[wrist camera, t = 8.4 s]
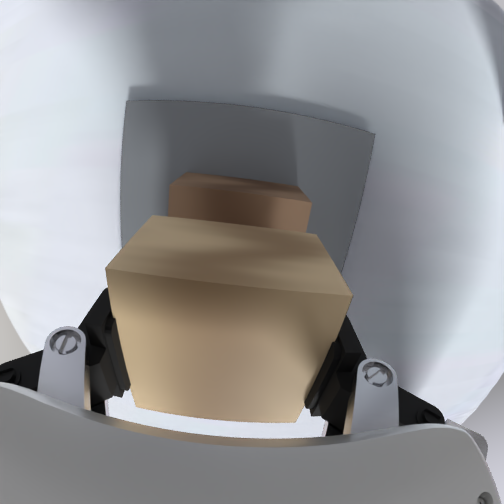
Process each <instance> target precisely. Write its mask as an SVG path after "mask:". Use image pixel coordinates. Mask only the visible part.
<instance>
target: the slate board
mask: <svg viewBox="0 0 504 504" xmlns="http://www.w3.org/2000/svg"><path fill="white" fill-rule="evenodd" d="M374 138H375V134H374V133H370V132H367V131H364V130H360V129H357V128H353V127H350V126H346V125H342V124H338V123H334V122H330V121H326V120H322V119H317V118H313V117H308V116H303V115H298V114H293V113H288V112H282V111H276V110H270V109H264V108H257V107H249V106H241V105H232V104H222V103H211V102H196V101H171V100H139V101H127V102H126V110H125V119H124V130H123V143H122V159H121V238H122V248H123V247H124V246H125V245H126V243H127V242H128V241H129V240H130V239H131V238H132V237H133V236H134V234H135V233H136V232H137V231H138V230H139V229H140V228H141V227H142V226H143V225H144V224H145V223H146V222H147V220H148V219H149V218H150V217H151V216H152V215H157V216H167V217H168V205H169V187H170V184H171V183H173V182H174V181H175V180H176V179H178V178H179V177H180V176H182V175H183V174H184V173H186V172H189V173H200V174H210V175H219V176H228V177H236V178H244V179H252V180H259V181H266V182H273V183H280V184H286V185H293V186H298V187H299V188H300V189H301V190H302V192H303V193H304V194H305V195H306V196H307V197H308V198H309V200H310V201H311V202H312V206H311V211H310V216H309V220H308V225H307V229H306V233H310V234H316V235H317V236H318V238H319V239H320V241H321V242H322V244H323V246H324V247H325V249H326V251H327V252H328V254H329V255H330V257H331V259H332V260H333V262H334V264H335V265H336V267H337V269H338V270H339V272H340V274H341V272H342V268H343V265H344V262H345V259H346V255H347V252H348V248H349V245H350V241H351V238H352V234H353V231H354V227H355V223H356V219H357V216H358V212H359V208H360V204H361V199H362V195H363V191H364V187H365V182H366V178H367V173H368V169H369V164H370V159H371V154H372V149H373V143H374Z"/></svg>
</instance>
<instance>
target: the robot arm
mask: <svg viewBox="0 0 504 504" xmlns="http://www.w3.org/2000/svg"><path fill="white" fill-rule="evenodd" d="M130 386H131V383H130V379H129V375H128V372H127V368H126V364H125V360H124V356H123V351H122V347H121V342H120V338H119V333H118V328H117V323H116V318H113V315H112V309H111V304H110V298H109V291H108V288H105V289H104V291H103V292H102V293H101V295H100V296H99V298H98V299H97V300H96V302H95V303H94V305H93V306H92V308H91V309H90V311H89V312H88V314H87V315H86V317H85V318H84V320H83V321H82V323H81V324H80V326H79V327H78V328H76V327H71V326H66V327H60V328H58V329H56V330H54V331H53V332H51V333H50V334H49V336H48V337H47V339H46V342H45V346H44V350H41V351H38V352H35V353H32V354H29V355H26V356H24V357H21V358H18V359H15V360H12V361H9V362H6V363H3V364H1V365H0V504H501V501H500V497H499V495H498V491H497V488H496V485H495V482H494V479H493V477H492V474H491V472H490V470H489V467H488V465H487V463H486V456H487V450H488V445H487V442H486V440H485V439H484V437H483V436H481V435H480V434H478V433H476V432H474V431H472V430H469V429H467V428H465V427H463V426H461V425H459V424H457V423H455V422H453V421H451V420H449V419H447V420H446V421H445V420H444V417H443V415H442V413H441V412H440V410H439V409H438V408H436V407H435V406H433V405H431V404H429V403H428V402H426V401H424V400H422V399H420V398H418V397H416V396H415V395H413V394H411V393H409V392H407V391H406V390H404V389H402V388H400V387H398V380H397V374H396V372H395V370H394V369H393V368H392V367H391V366H390V365H389V364H388V363H386V362H384V361H382V360H379V359H373V358H371V359H367V358H366V355H365V353H364V351H363V349H362V346H361V344H360V342H359V340H358V338H357V335H356V333H355V331H354V329H353V327H352V325H351V323H350V321H349V318H348V317H347V315H346V316H345V318H344V321H343V323H342V326H341V328H340V331H339V333H338V335H337V338H336V340H335V342H332V344H331V346H330V348H329V351H328V353H327V355H326V358H325V360H324V362H323V364H322V366H321V369H320V371H319V373H318V375H317V377H316V379H315V381H314V383H313V385H312V387H311V389H310V391H309V393H308V395H307V397H306V399H305V401H304V404H305V407H306V408H307V409H310V413H311V416H321V417H322V418H323V419H324V420H325V424H324V428H323V432H322V436H321V437H313V438H291V439H256V438H234V437H221V436H210V435H201V434H193V433H186V432H179V431H173V430H167V429H161V428H156V427H151V426H146V425H141V424H137V423H133V422H129V421H124V420H121V419H117V418H113V417H109V408H108V399H109V398H111V397H112V396H117V397H121V398H122V396H123V393H124V390H126V391H128V390H129V389H130Z"/></svg>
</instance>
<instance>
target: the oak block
mask: <svg viewBox="0 0 504 504" xmlns="http://www.w3.org/2000/svg"><path fill="white" fill-rule="evenodd" d="M105 270H106V277H107V285H108V291H109V298H110V304H111V309H112V315H113V318H116V323H117V328H118V333H119V338H120V342H121V347H122V351H123V356H124V360H125V364H126V368H127V372H128V375H129V379H130V383H131V386H130V389H131V392H132V396H133V399H134V402H135V405H136V407H138V408H143V409H148V410H153V411H158V412H163V413H169V414H175V415H181V416H188V417H196V418H204V419H213V420H224V421H238V422H260V423H295V422H296V420H297V419H298V417H299V415H300V413H301V411H302V409H303V407H304V405H305V404H304V401H305V399H306V397H307V395H308V393H309V391H310V389H311V387H312V385H313V383H314V381H315V379H316V377H317V375H318V373H319V371H320V369H321V366H322V364H323V362H324V360H325V358H326V355H327V353H328V351H329V348H330V346H331V344H332V342H335V340H336V338H337V335H338V333H339V331H340V328H341V326H342V323H343V321H344V318H345V316H346V313H347V311H348V308H349V305H350V303H351V300H352V297H353V294H352V293H351V291H350V289H349V287H348V286H347V284H346V282H345V281H344V279H343V277H342V275H341V274H340V272H339V270H338V269H337V267H336V265H335V264H334V262H333V260H332V259H331V257H330V255H329V254H328V252H327V251H326V249H325V247H324V246H323V244H322V242H321V241H320V239H319V238H318V236H317V235H316V234H310V233H303V232H295V231H288V230H280V229H272V228H264V227H256V226H248V225H240V224H231V223H223V222H214V221H205V220H196V219H186V218H177V217H167V216H157V215H152V216H151V217H150V218H149V219H148V220H147V222H146V223H145V224H144V225H143V226H142V227H141V228H140V229H139V230H138V231H137V232H136V233H135V234H134V236H133V237H132V238H131V239H130V240H129V241H128V242H127V243H126V245H125V246H124V247H123V248H122V249H121V250H120V251H119V253H118V254H117V255H116V256H115V257H114V258H113V259H112V261H111V262H110V263H109V264H108V265H107V267H106V268H105Z"/></svg>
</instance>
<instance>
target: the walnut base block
mask: <svg viewBox="0 0 504 504" xmlns="http://www.w3.org/2000/svg"><path fill="white" fill-rule="evenodd" d="M311 206H312V202H311V201H310V200H309V198H308V197H307V196H306V195H305V194H304V193H303V192H302V190H301V189H300V188H299V187H298V186H293V185H286V184H280V183H273V182H266V181H259V180H252V179H244V178H236V177H228V176H219V175H210V174H200V173H189V172H186V173H184V174H183V175H182V176H180V177H179V178H178V179H176V180H175V181H174V182H173V183H171V184H170V187H169V205H168V217H177V218H186V219H196V220H205V221H214V222H223V223H231V224H240V225H248V226H256V227H264V228H272V229H280V230H288V231H295V232H303V233H306V229H307V225H308V220H309V216H310V211H311Z"/></svg>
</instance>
